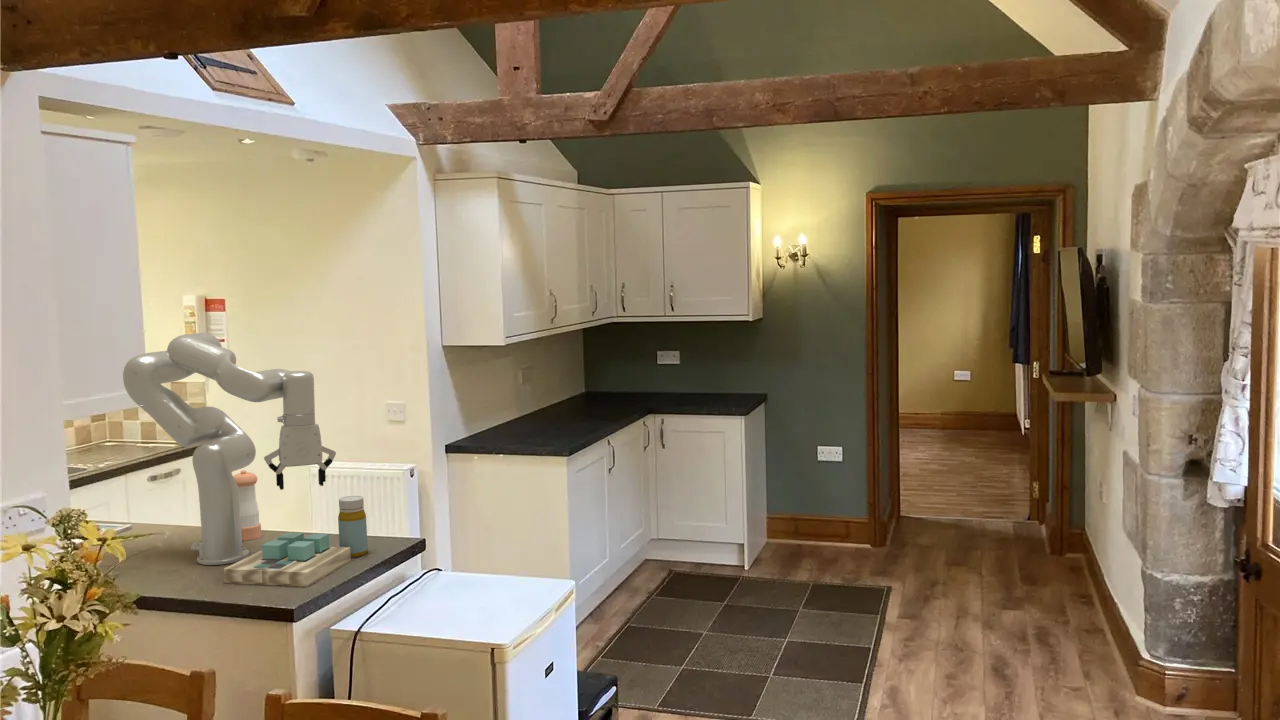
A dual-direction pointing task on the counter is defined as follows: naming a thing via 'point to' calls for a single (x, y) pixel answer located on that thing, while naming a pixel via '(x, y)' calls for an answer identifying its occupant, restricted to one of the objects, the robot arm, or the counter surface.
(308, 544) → the button
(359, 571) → the counter surface
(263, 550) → the button
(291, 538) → the button
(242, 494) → the salt shaker
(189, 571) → the counter surface
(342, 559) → the button board
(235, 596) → the counter surface
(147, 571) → the counter surface
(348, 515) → the bottle
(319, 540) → the button
